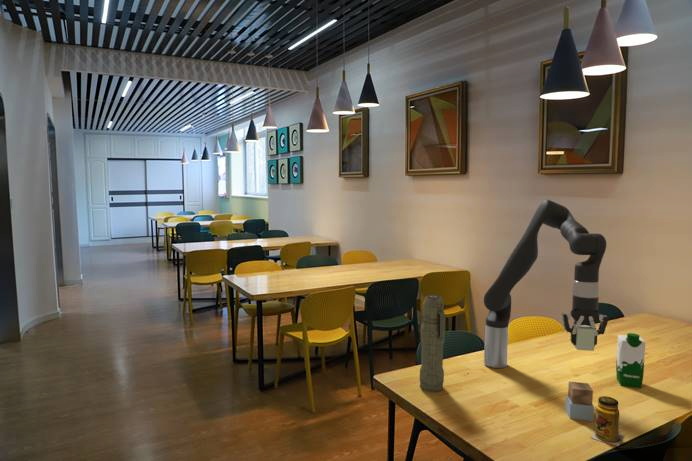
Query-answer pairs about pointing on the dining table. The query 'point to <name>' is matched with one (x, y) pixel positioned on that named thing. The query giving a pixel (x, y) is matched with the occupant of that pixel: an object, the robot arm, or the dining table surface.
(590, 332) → the green block
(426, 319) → the thermos
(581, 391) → the tower top
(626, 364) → the milk carton
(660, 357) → the dining table surface
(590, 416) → the tower base
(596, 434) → the condiment
